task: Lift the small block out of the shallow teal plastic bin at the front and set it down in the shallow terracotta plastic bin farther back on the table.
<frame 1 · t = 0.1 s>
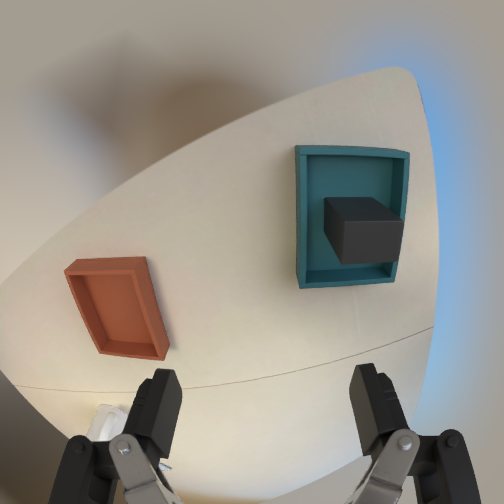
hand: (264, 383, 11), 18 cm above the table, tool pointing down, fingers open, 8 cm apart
block: (348, 214, 26), point 1 cm above the table, touching teal bin
teal bin: (346, 212, 26), on the table
terracotta bin: (122, 304, 32), on the table
mug: (115, 410, 45), on the table
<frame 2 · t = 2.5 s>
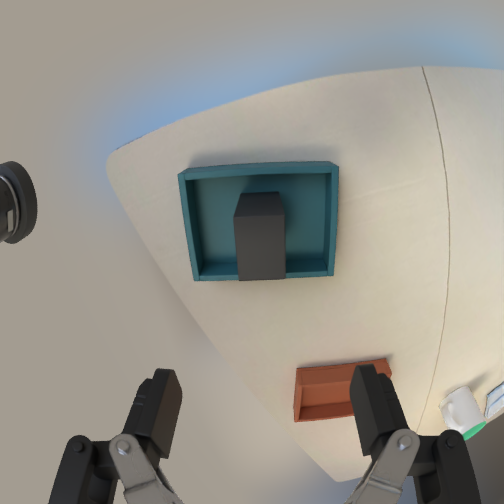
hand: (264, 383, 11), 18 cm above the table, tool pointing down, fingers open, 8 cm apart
block: (261, 218, 26), point 1 cm above the table, touching teal bin
teal bin: (261, 216, 27), on the table
terracotta bin: (338, 385, 37), on the table
mug: (449, 397, 42), on the table
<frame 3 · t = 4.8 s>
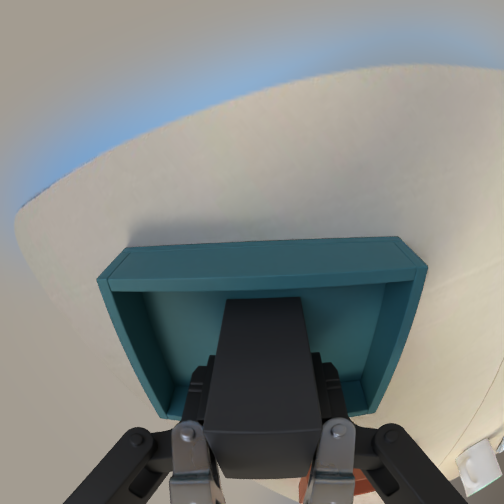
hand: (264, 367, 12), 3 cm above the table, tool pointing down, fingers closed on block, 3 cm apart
block: (264, 336, 14), point 1 cm above the table, touching gripper, teal bin
teal bin: (264, 329, 15), on the table
terracotta bin: (352, 469, 25), on the table
mug: (467, 450, 30), on the table
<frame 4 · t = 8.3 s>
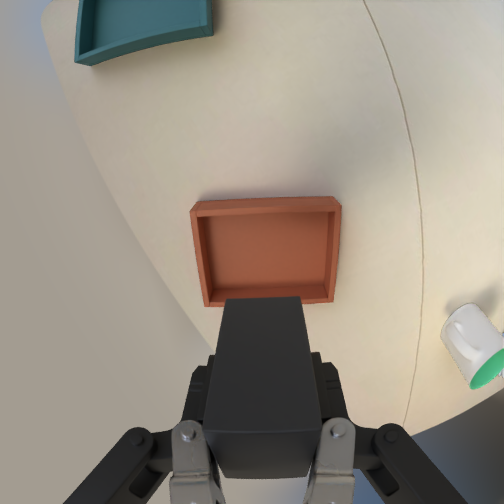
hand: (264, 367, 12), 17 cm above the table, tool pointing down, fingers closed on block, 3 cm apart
block: (264, 336, 14), point 15 cm above the table, touching gripper
teal bin: (146, 8, 18), on the table
terracotta bin: (267, 246, 28), on the table
mug: (454, 321, 33), on the table
when the fingers open (3 cm above the table, at t = 12.0 s): block stays where it is, resting on terracotta bin.
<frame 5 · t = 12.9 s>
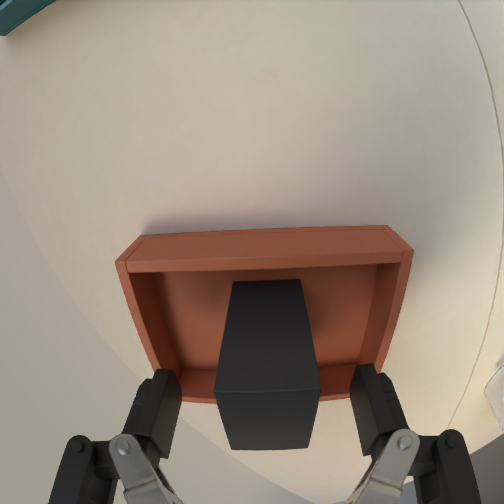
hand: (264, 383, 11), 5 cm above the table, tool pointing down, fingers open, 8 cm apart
block: (268, 317, 15), point 1 cm above the table, touching terracotta bin
terracotta bin: (266, 311, 16), on the table
mug: (501, 372, 20), on the table
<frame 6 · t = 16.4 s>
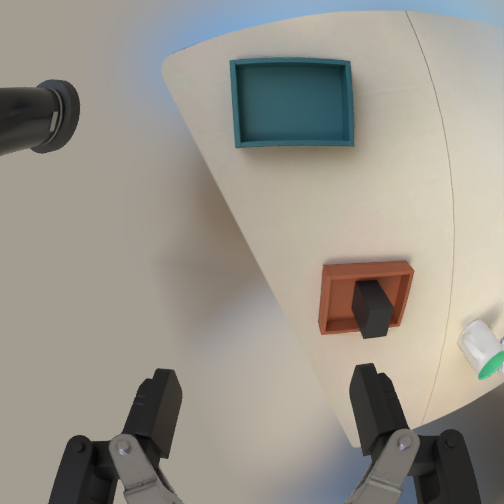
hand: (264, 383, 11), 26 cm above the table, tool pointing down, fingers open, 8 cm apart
block: (363, 294, 39), point 1 cm above the table, touching terracotta bin
teal bin: (291, 102, 29), on the table
terracotta bin: (362, 292, 40), on the table
mug: (466, 332, 44), on the table
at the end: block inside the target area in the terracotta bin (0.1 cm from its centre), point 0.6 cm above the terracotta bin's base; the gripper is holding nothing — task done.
